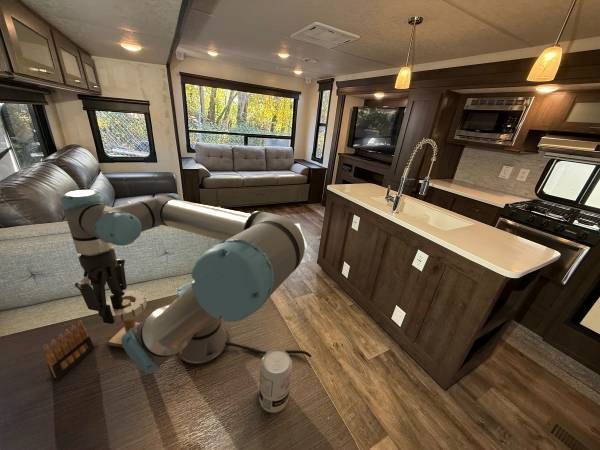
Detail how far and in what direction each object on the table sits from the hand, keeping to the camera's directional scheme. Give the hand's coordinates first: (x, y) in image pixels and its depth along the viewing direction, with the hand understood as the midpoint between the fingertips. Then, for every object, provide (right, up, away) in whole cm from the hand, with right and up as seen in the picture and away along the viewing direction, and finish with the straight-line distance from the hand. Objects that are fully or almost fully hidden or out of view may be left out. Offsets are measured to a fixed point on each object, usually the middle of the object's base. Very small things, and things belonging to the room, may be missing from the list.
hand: (114, 317), depth 74 cm
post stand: (0, -10, +9) cm, 13 cm away
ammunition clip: (-11, -13, -1) cm, 17 cm away
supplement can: (+48, -21, -5) cm, 53 cm away
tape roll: (+1, +1, +4) cm, 4 cm away
